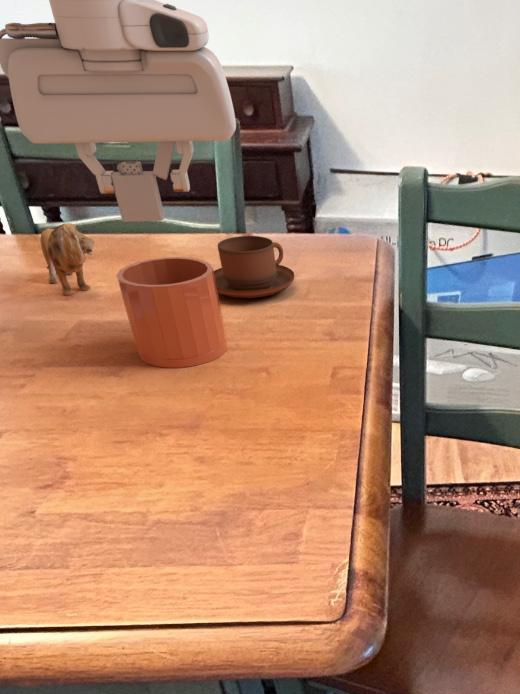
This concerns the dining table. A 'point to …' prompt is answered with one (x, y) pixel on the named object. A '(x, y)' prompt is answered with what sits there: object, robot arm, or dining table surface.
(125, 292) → the terracotta-colored cup
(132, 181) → the lighter
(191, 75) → the robot arm
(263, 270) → the cup and saucer
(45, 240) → the lion figurine
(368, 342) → the dining table surface
